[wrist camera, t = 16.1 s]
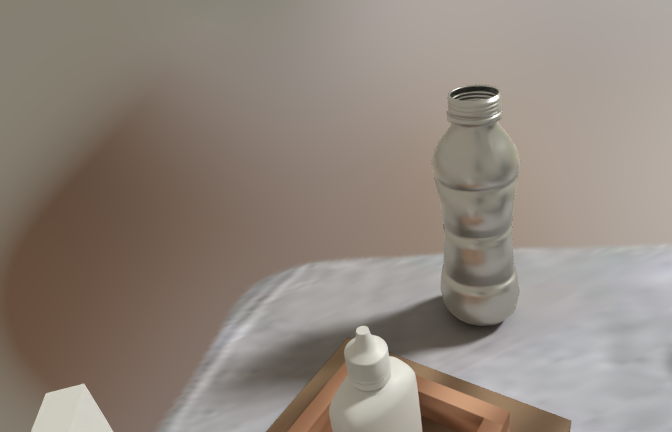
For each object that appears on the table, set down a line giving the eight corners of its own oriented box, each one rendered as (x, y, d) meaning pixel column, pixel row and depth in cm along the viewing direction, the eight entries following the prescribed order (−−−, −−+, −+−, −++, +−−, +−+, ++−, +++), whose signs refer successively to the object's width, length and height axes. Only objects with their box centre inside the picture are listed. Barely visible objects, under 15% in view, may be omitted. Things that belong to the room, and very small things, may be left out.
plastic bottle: (486, 348, 44) (482, 116, 34) (426, 310, 49) (407, 99, 39) (534, 309, 47) (544, 86, 37) (473, 278, 52) (467, 73, 42)
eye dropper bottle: (336, 452, 36) (304, 318, 30) (415, 429, 37) (399, 292, 31) (352, 514, 32) (318, 373, 26) (440, 486, 33) (426, 343, 27)
